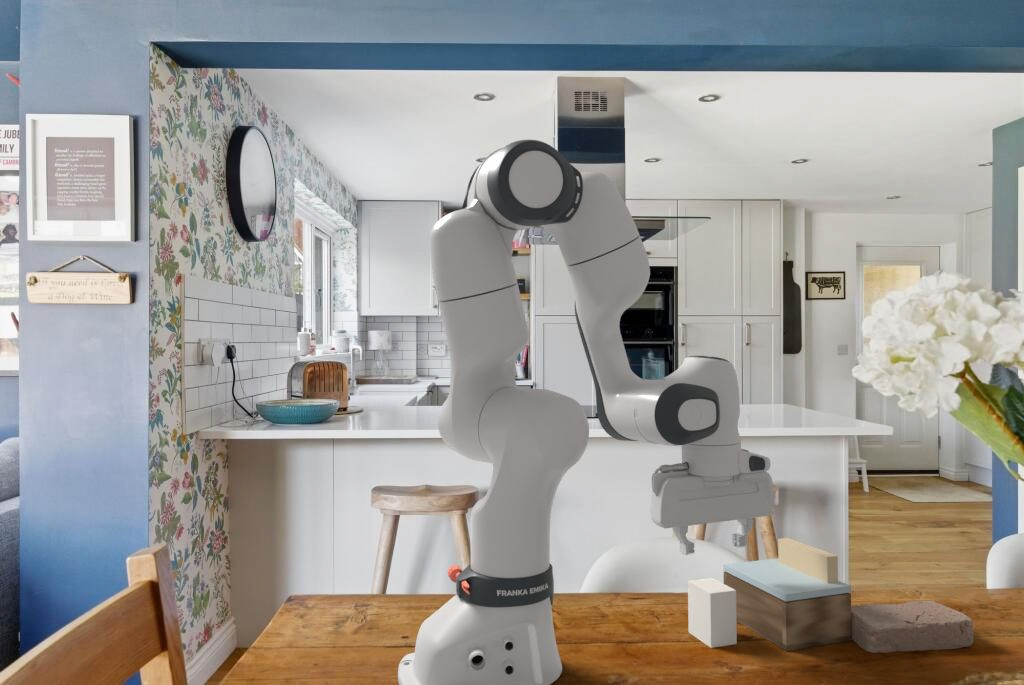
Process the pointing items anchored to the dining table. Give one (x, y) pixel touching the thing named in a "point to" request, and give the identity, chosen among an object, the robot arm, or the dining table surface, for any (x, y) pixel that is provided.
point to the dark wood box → (792, 616)
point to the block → (712, 612)
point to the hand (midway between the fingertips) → (713, 550)
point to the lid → (793, 572)
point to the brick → (910, 627)
